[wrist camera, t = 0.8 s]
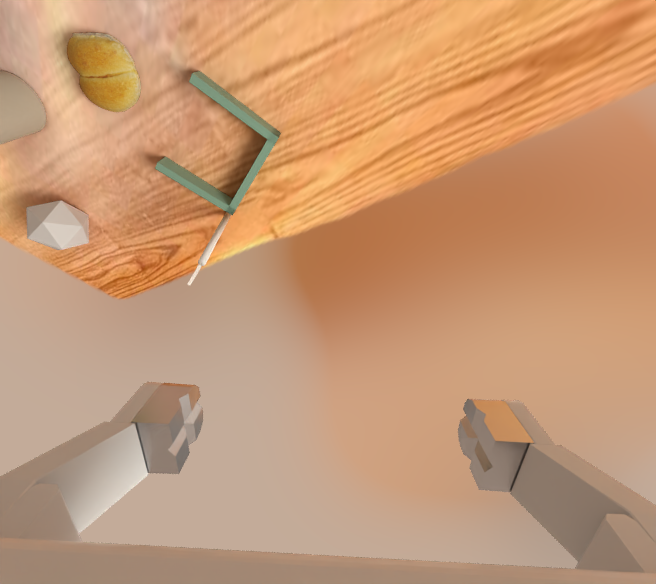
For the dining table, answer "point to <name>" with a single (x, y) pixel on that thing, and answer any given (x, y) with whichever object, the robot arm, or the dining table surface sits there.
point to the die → (57, 225)
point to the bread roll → (104, 70)
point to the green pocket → (203, 187)
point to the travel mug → (18, 109)
